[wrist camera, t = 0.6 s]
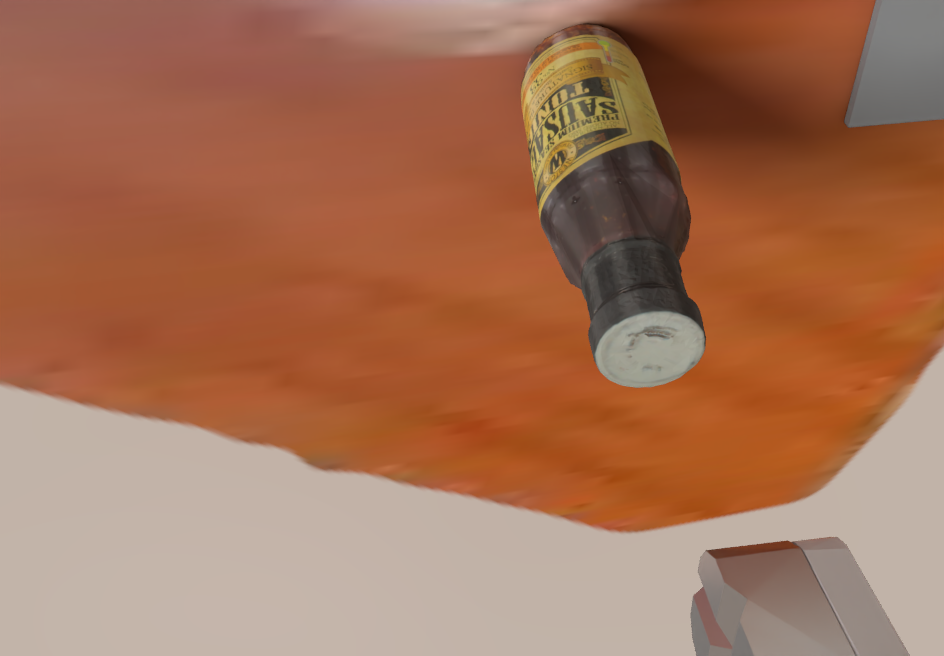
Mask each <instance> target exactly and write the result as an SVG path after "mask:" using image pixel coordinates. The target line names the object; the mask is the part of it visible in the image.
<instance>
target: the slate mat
mask: <svg viewBox="0 0 944 656" xmlns="http://www.w3.org/2000/svg"><path fill="white" fill-rule="evenodd" d="M940 119H944V0H876V2H875V6H874V10H873V14H872V17H871V21H870V25H869V29H868V33H867V36H866V40H865V44H864V48H863V52H862V55H861V59H860V63H859V67H858V71H857V75H856V78H855V82H854V86H853V90H852V94H851V97H850V101H849V105H848V109H847V113H846V116H845V120H844V123H845V124H846V125H847V127H848V128H849V127H860V126H872V125H883V124H894V123H906V122H917V121H928V120H940Z"/></svg>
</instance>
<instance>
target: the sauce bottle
mask: <svg viewBox="0 0 944 656" xmlns="http://www.w3.org/2000/svg"><path fill="white" fill-rule="evenodd" d="M521 105H522V112H523V118H524V124H525V131H526V137H527V142H528V149H529V154H530V161H531V167H532V174H533V178H534V186H535V190H536V197H537V204H538V209H539V216H540V222H541V226H542V228H543V230H544V232H545V234H546V236H547V238H548V240H549V242H550V244H551V247H552V249H553V251H554V253H555V255H556V257H557V259H558V261H559V263H560V265H561V267H562V269H563V271H564V273H565V275H566V277H567V278H568V280H569V282H570V283H571V284H573V285H575V286H576V287H578V288H580V289H581V290H582V293H583V295H584V298H585V299H586V301H587V306H588V311H589V315H590V320H591V324H590V328H589V333H588V336H589V341H590V346H591V350H592V353H593V357H594V361H595V363H596V365H597V367H598V369H599V370H600V372H601V373H602V374H603V375H604V376H606V378H607V379H609V380H611V381H613V382H615V383H617V384H620V385H623V386H628V387H636V388H639V387H653V386H657V385H662V384H665V383H668V382H670V381H673V380H675V379H677V378H680V377H681V376H682V375H684V374H685V373H686V372H687V371H689V370H690V369H691V368H692V367H694V366H695V365H696V364H697V363H698V362H699V360H700V359H701V357H702V355H703V353H704V350H705V341H706V336H705V331H704V327H703V322H702V317H701V314H700V310H699V308H698V306H697V304H696V303H695V302H694V301H693V300H692V299H690V298H689V297H688V295H687V293H686V290H685V287H684V283H683V280H682V276H681V271H682V270H681V267H680V263H679V259H680V257H681V255H682V253H683V252H684V251H685V247H686V244H687V242H688V239H689V229H690V223H691V215H690V210H689V206H688V200H687V197H686V195H685V194H684V191H683V188H682V185H681V176H680V172H679V168H678V166H677V163H676V160H675V158H674V155H673V152H672V149H671V147H670V144H669V141H668V139H667V136H666V134H665V131H664V128H663V125H662V123H661V120H660V117H659V114H658V112H657V109H656V106H655V103H654V100H653V98H652V95H651V92H650V89H649V86H648V84H647V81H646V78H645V76H644V73H643V71H642V68H641V65H640V64H639V62H638V60H637V58H636V57H635V55H634V54H633V53H632V51H631V49H630V48H629V46H628V45H627V44H626V42H625V41H624V40H623V39H622V38H621V37H620V36H619V35H618V34H617V33H615V32H613V31H612V30H610V29H608V28H604V27H601V26H599V25H590V24H587V25H584V24H580V25H576V26H572V27H569V28H566V29H563V30H561V31H559V32H556V33H554V34H553V35H551V36H550V37H547V38H546V39H545V40H544V41H543V43H542V44H540V45H538V46H537V47H536V48H535V50H534V52H533V54H532V55H531V57H530V59H529V62H528V65H527V67H526V69H525V72H524V77H523V80H522V85H521Z"/></svg>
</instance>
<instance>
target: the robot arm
mask: <svg viewBox="0 0 944 656" xmlns="http://www.w3.org/2000/svg"><path fill="white" fill-rule="evenodd" d="M698 573H699V576H700V579H701V581H702V584H703V587H702V588H701V589H700V590H699V591H698V592H697V593H696V594H695V595H694V596H693V601H692V608H691V627H692V638H693V643H694V647H695V651H696V656H910V655H909V653H908V652H907V650H906V648H905V646H904V645H903V643H902V641H901V639H900V638H899V636H898V634H897V633H896V631H895V629H894V627H893V625H892V624H891V622H890V620H889V618H888V617H887V615H886V613H885V611H884V610H883V608H882V606H881V604H880V603H879V601H878V599H877V597H876V596H875V594H874V592H873V590H872V589H871V587H870V585H869V583H868V582H867V580H866V578H865V576H864V575H863V573H862V571H861V570H860V568H859V566H858V564H857V562H856V561H855V559H854V557H853V555H852V554H851V552H850V550H849V548H848V547H847V545H846V544H845V543H844V542H843V541H841V540H840V539H839V538H838V537H827V538H819V539H811V540H802V541H794V542H789V541H781V542H773V543H764V544H757V545H748V546H739V547H730V548H722V549H715V550H706V551H705V552H704V553H703V555H702V556H701V558H700V563H699V567H698Z"/></svg>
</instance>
